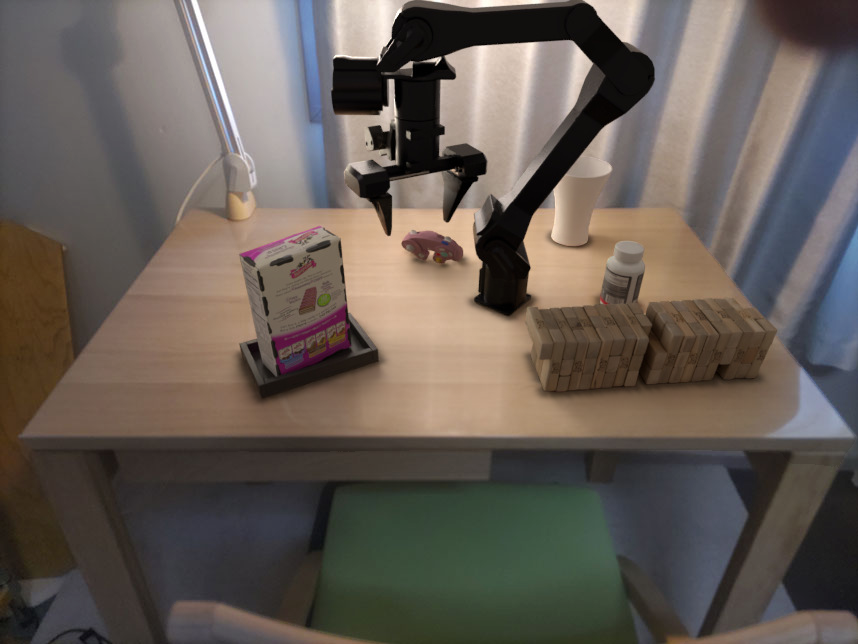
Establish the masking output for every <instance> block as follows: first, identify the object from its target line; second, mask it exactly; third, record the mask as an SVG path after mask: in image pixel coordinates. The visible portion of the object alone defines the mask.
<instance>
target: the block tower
mask: <svg viewBox="0 0 858 644" xmlns="http://www.w3.org/2000/svg"><path fill="white" fill-rule="evenodd" d="M524 323H525V326H526V329H527V331H528V334H529V336H530V339H531V342H532V346H531V353H530V359H531V361H532V363H533V366H534V367H535V370H536V373H537V375H538V378H539V381H540V384H541V386H542V389H543V391H545V392H553V391H555V392H556V393H557V392H567V391H577V390H590V389H601V388H604V389H605V388H612V387H622V386H624V387H634V386H636V384H637V381H638V376H639V373H640V376H641V377H642V379H643V381H644V383H645V384H646V385H657V384H667V383H670V384H677V383H678V384H679V382H680V383H688V382H691V383H692V382H693V383H694V382H701V381H712V380H713V379H714V376H715V374H716V372H717V373H718V375H719V376H720V378H722V380H733V379H744V378H745V379H755V378H757V376H758V374H759V371H760V369H761V367H762V365H763V363H764V360H765V358H766V356H767V354H768V352H769V350H770V348H771V346H772V343H773V341H774V339H775V337H776V335H777V333H778V329H777V328H776V327H775V325H774V324H773V323H771V322H770V321H769V319H767V318H765V316H764V315H763V314H762V313H761V312H760V311H759V310H758V309H757V308H756V307H743V306H742V305H741V304H740V303H739V302H738V301H737V300H736V299H735V298H734V297H732V296H731V297H724V298H718V297H717V298H711V297H710V298H707V297H706V298H702V299H701V298H695V299H692V300H691V299H681V300H671V301H669V300H661V301H649V302H648V305H647V308H646V311H645V312H644V310H643V309H642V308H641V306H640V305H639V303H638V302H637V303H636V302H633V303H627V304H616V305H615V304H606V305H604V304H600V303H597V304H593V305H592V304H589V305H587V304H586V305H585V304H584V305H582V306H562V307H549V308H539V307H538V306H527V308H526V314H525V321H524Z"/></svg>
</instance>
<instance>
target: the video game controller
mask: <svg viewBox="0 0 858 644" xmlns="http://www.w3.org/2000/svg"><path fill="white" fill-rule="evenodd" d="M401 247H402V248H403V249H404V250H406V252H408V253H410V254H413V255H414V257H416V258H417V259H418V260H421V261H426V260H428V258H429V256H430V251H431V252H433V255H432V259H431V260H433V262H434V263H437V264H439V265H443V264H445V263H446V262H447V261H451V260H452V261H454V262H460V261H461V260H462V259H463V258H464V248H463V247H462V246H461V245H459V244H458V242H457V241H455V239H454V238H452V237H450V236H444V235H443V234H440V233H438V232H436V231H434V230H420V231H416V230H414V229H411V230H410V231H408V233H407V234H405V236H403V238H402V241H401Z"/></svg>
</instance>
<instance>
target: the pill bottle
mask: <svg viewBox="0 0 858 644" xmlns="http://www.w3.org/2000/svg"><path fill="white" fill-rule="evenodd" d="M644 253H645V247H644V246H643V245H642V244H641V243H639V242H636V241H633V240H620V241H617V242H616V243H615V245H614V249H613V255H611V256H610V257H609V258H608V259H607V260H606V261H607V262H606V264H605V270H604V274H603V280H602V283H601V290H600V296H599V304H604V305H606V304H615V305H616V304H627V303H633V302H636V303H637V304H638V300H639V296H640V292H641V287H642V285H643V280H644V276H645V271H646V263H645V262H644V259H643V258H644Z"/></svg>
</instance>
